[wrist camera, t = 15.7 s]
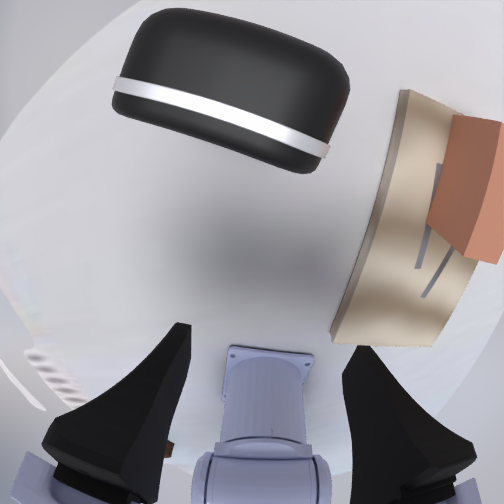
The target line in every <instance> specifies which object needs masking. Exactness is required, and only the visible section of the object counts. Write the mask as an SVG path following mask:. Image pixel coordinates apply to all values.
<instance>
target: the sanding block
mask: <svg viewBox="0 0 504 504" xmlns="http://www.w3.org/2000/svg"><path fill="white" fill-rule="evenodd" d="M425 223H426V224H428V225H429V226H430V227H431V228H432V229H433V230H435V231H436V232H437V233H438V234H439V235H440V236H441V237H443V238H444V239H445V240H446V241H447V242H448V243H449V244H450V245H451V246H453V247H454V248H455V249H456V250H457V251H458V252H459V253H460V254H461V255H462V256H463V257H468V258H472V259H476V260H480V261H484V262H488V263H492V264H496V265H497V263H498V261H499V258H500V256H501V254H502V251H503V249H504V124H503V123H502V122H499V121H493V120H488V119H482V118H476V117H469V116H462V115H453V117H452V123H451V128H450V134H449V139H448V143H447V148H446V152H445V157H444V161H443V165H442V169H441V173H440V177H439V180H438V184H437V187H436V191H435V194H434V198H433V201H432V204H431V207H430V210H429V213H428V216H427V219H426V222H425Z"/></svg>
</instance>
